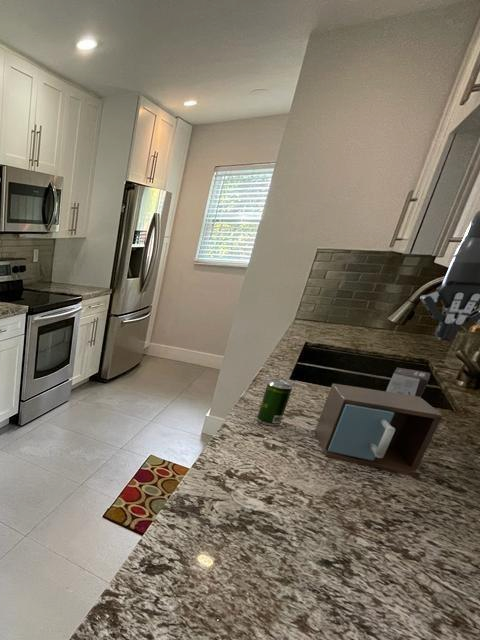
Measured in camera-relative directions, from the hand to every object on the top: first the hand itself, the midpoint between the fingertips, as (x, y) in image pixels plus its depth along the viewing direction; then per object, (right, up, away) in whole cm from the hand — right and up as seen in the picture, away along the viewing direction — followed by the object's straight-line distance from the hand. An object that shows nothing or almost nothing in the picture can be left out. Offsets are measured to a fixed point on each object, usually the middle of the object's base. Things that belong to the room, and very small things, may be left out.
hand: (443, 339), depth 93 cm
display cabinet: (-13, -26, +6) cm, 30 cm away
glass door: (-22, -27, -1) cm, 35 cm away
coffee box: (+5, -23, +17) cm, 29 cm away
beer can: (-25, -21, +20) cm, 38 cm away
